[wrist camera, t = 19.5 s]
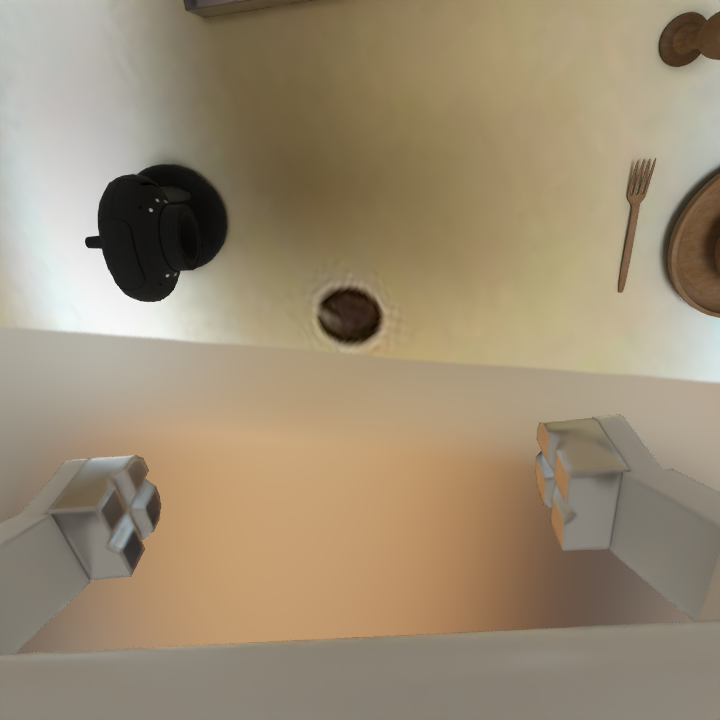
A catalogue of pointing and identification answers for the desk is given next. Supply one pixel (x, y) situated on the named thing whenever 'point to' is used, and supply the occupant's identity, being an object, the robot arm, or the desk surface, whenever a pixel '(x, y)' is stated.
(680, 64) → the place setting
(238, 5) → the tray
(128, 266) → the webcam
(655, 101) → the desk surface
